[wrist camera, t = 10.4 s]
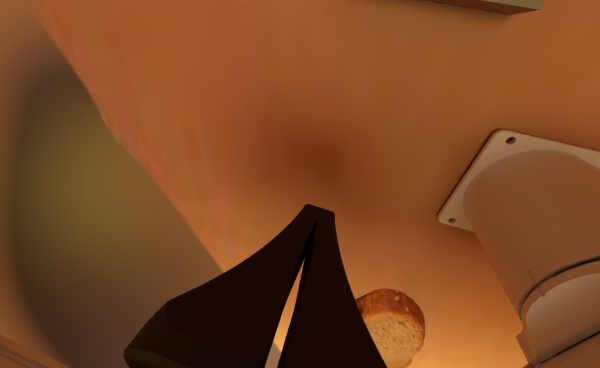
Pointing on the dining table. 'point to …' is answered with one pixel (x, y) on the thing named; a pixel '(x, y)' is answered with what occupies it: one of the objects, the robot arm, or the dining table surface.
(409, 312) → the slice of bread
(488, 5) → the switch board
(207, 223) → the dining table surface
